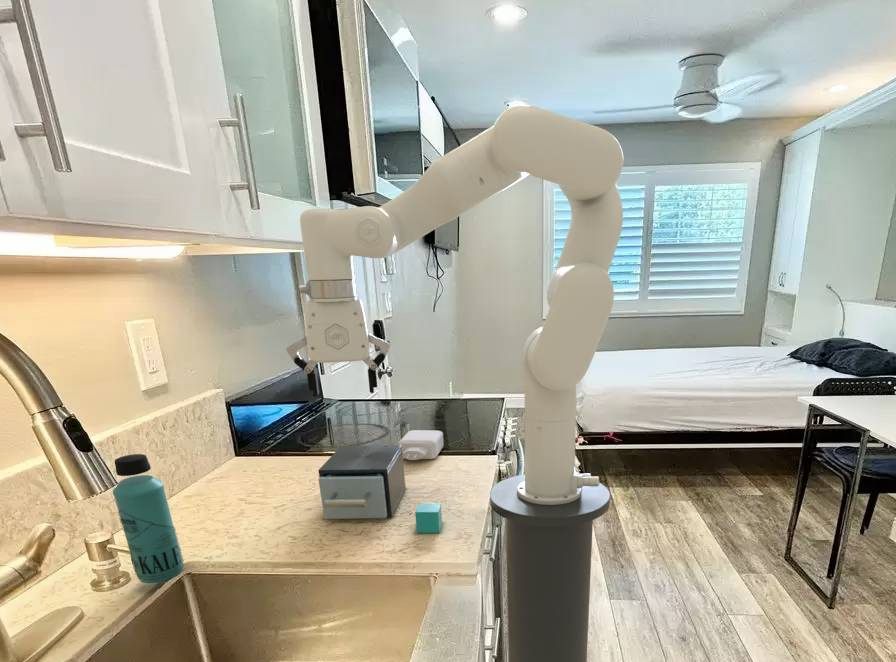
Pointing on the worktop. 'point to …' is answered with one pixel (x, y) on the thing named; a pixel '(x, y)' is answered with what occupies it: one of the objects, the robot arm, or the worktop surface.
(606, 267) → the robot arm
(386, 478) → the drawer cabinet
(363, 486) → the light blue drawer
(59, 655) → the worktop surface
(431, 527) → the teal rounded cube
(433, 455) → the charger
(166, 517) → the beverage bottle
